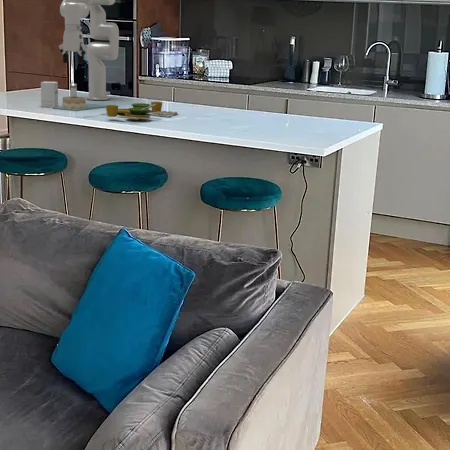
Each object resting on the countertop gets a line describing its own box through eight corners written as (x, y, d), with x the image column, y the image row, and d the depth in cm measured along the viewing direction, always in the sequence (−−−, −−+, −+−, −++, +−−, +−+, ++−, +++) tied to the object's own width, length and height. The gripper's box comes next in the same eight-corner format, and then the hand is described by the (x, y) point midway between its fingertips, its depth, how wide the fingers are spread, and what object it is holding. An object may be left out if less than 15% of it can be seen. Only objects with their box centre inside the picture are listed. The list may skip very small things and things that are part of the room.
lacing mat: (88, 104, 398) (88, 103, 398) (111, 106, 392) (111, 105, 392) (52, 108, 372) (52, 107, 372) (76, 110, 366) (76, 109, 366)
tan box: (72, 105, 383) (72, 96, 382) (89, 107, 378) (89, 97, 377) (58, 107, 373) (58, 97, 372) (75, 109, 369) (75, 99, 367)
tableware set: (137, 120, 342) (137, 106, 340) (88, 115, 354) (88, 102, 352) (181, 113, 378) (181, 100, 376) (135, 109, 390) (136, 97, 388)
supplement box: (55, 107, 378) (54, 82, 375) (40, 107, 378) (40, 82, 375) (58, 106, 385) (58, 81, 382) (44, 105, 385) (43, 81, 382)
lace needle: (73, 106, 378) (72, 83, 375) (78, 107, 377) (78, 83, 374) (69, 107, 375) (68, 83, 372) (74, 107, 374) (73, 84, 371)
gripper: (91, 29, 365) (91, 64, 370) (63, 27, 373) (64, 62, 377) (81, 28, 359) (82, 64, 363) (54, 27, 366) (55, 62, 371)
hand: (73, 63), depth 370 cm, fingers open, 9 cm apart
